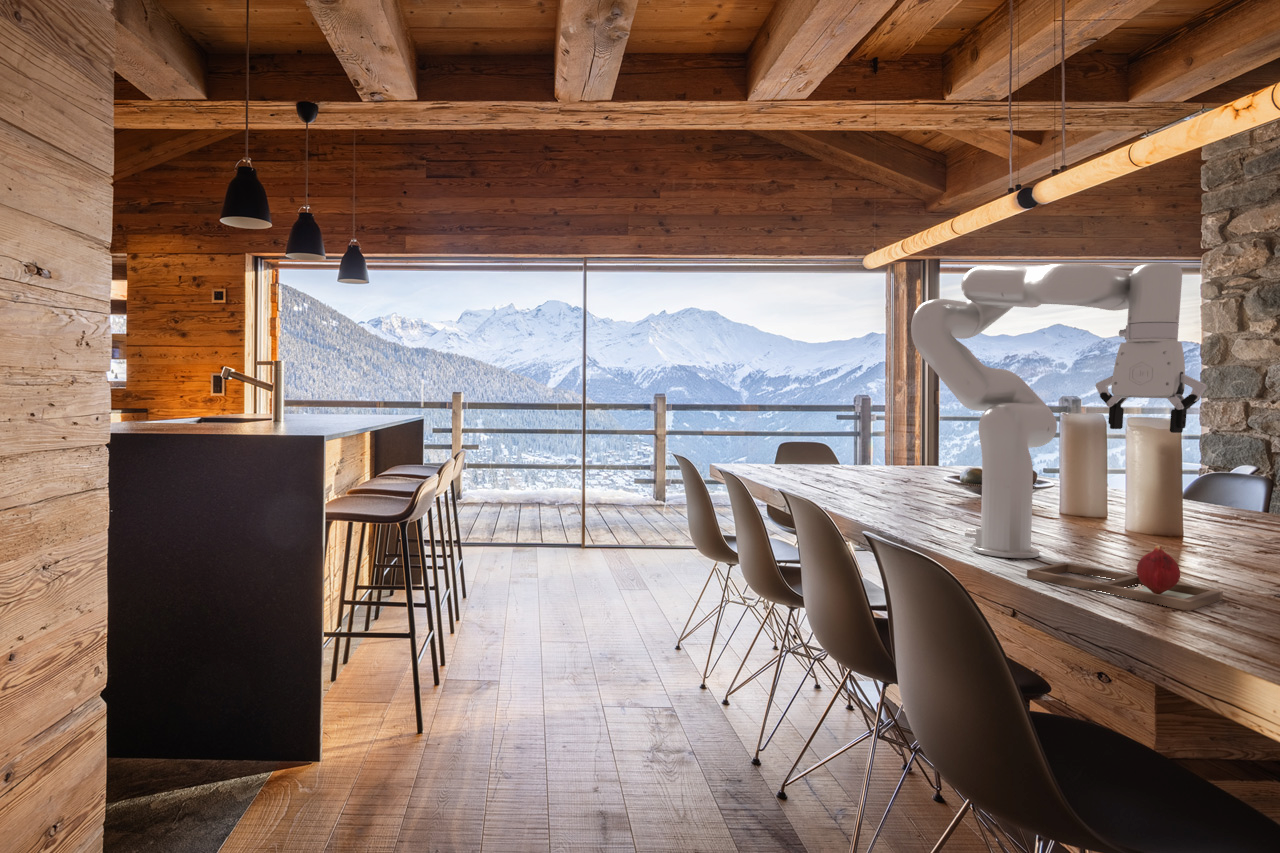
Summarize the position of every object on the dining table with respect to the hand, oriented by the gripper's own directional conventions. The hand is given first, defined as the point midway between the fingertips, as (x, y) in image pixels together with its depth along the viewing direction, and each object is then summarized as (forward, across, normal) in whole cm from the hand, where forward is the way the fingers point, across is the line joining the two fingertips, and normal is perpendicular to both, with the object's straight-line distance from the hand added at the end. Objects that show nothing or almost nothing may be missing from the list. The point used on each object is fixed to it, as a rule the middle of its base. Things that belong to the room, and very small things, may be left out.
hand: (1145, 430), depth 130 cm
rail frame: (+27, +3, -11) cm, 29 cm away
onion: (+26, +8, -11) cm, 30 cm away
